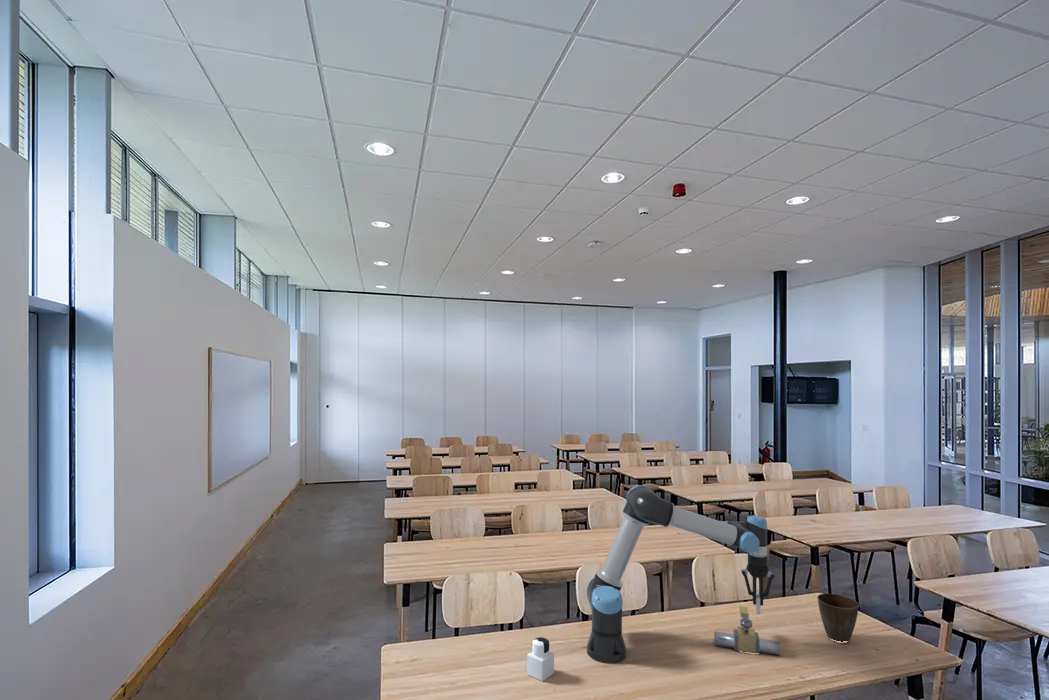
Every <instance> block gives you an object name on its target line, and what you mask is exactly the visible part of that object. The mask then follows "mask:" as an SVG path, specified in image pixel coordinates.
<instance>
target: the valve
mask: <svg viewBox="0 0 1049 700" xmlns="http://www.w3.org/2000/svg"><path fill="white" fill-rule="evenodd" d="M713 639H714V640H713V642H714V646H718V647H723V648H729V647H730V648H731V649H735V650H738V651H742V652H749V653H750V652H751V653H759V654H760V653H761V652H763V653H762V654H767V653H770V654H769V655H773V654H777V655H776V656H781V643H780V641H779V640H774V639H768V638H761V637H759V632H756V631H755V628H752V627H751V628H746V627H743V626H741V625H740V626H739V625H737V626H736V629H735V628H733V633H727V632H723V631H716V630H715V631H714V632H713ZM735 650H734V651H735Z"/></svg>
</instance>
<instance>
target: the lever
mask: <svg viewBox="0 0 1049 700" xmlns="http://www.w3.org/2000/svg"><path fill="white" fill-rule="evenodd" d="M739 615H740V617H741V618H740V623H739V624H740V627H746V628H752V627H753V621H752V620H751V619H749V616H750V615H749V608H748V607H747V606H739Z"/></svg>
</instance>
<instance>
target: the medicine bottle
mask: <svg viewBox="0 0 1049 700" xmlns="http://www.w3.org/2000/svg"><path fill="white" fill-rule="evenodd" d="M531 647H532V651H531V652H529V653H528V654H526V675H527V676H529V677H532V678H534V679H536V680H538V681H541V682H544V681H545V680H546V679H548V678H550V677H551V676H553V674H554V673H555V653H553V652H551V651H550V641H549V639H548V638H545V637H536V638H534V639H533V640H532V646H531Z"/></svg>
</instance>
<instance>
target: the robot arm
mask: <svg viewBox="0 0 1049 700" xmlns="http://www.w3.org/2000/svg"><path fill="white" fill-rule="evenodd" d="M625 500H626V501H625V502H626V503H625V505H624V507H623V510H622V514H623V520H622V521H621V523H620V526H619V529H618V530H617V534H616V535H615V538H614V541H613V543H612V545H611V547H610V549H609V552H608V554H607V556H606V558H605V561H604V564H603V566H602V568H601V569H600V570H597V571H596V572H595V574H594V577H593V578H591V579H590V581H589V582H588V583H587V588H586V596H587V600H588V603H589V606H590V609H591V632H590V635H589V637H588V638H589V639H588V641H587V644H586V653H587V656H589V657H590V658H591V659H593V660H595V661H597V662H600V663H607V664H611V663H612V664H613V663H619V662H622V661H624V660H625V659H626V657H627V646H626V643H625V640H624V637H623V605H624V603H623V596H622V594H621V590H622V588H623V583H622V577H623V575H624V573H625V570H626V568H627V567H628V564H629V561H630V559H631V557H632V554H633V552H634V549H635V547H636V545H637V543H638V542H639V541H638V540H639V538H640V536H641V534H642V531H643V528H644V527H646V526H649V524H650V523H651V524H652V523H653V524H655V525H659V526H662V527H666V528H667V527H669V526H671V527H675V528H677V529H680V530H683V531H687V532H689V533H692V534H695V535H698V536H702V537H703V538H708V539H710V540H714V541H717V542H721V543H723V544H726V545H729V546H732V547H735V548H738V549H741V550H742V551H743V552H745V553H748V554H747V565H746V567H745V568H744V569H741V570H740V571H741V574H742V576H743V577H744V582H745V585H746V589H747V593H748V595H749V596H752V604H753V605H754V606H755V613H756V615H761V607H763V606H764V598H767V597H768V596H769V594H770V590H771V586H772V581H773V579H775V574H774V572H771V571H770V569H769V567H768V565H769V564H768V523H767V522H768V521H767V519H766V517H763V516H760V515H749V516H747V519H746V521H737V520H733V521H731V520H724V521H723V520H721V521H720V520H717V519H714V518H711V517H708V516H705V515H702V514H699V513H696V512H693V511H690V510H686V509H684V508H681V507H678V506H675V504H674V503H673V502H671V501H668V500H665V499H664V498H662V497H660V496H659V495H658V494H656V492H654V490H653V489H652V488H650V487H648V486H646V485H642V484H641V485H640V484H638V485H635V486H633V487H631V488H630V489H629V490H628V491H627V494H626V498H625ZM748 574H749V575H750V576H751V577H752V590H751V587H750V586H751V585H750V583H749V578H748ZM766 576H767V580H766V585H765V587H764V578H765V577H766ZM757 579H758V580H759V582H758V585H759V587H758V588H759V589H758V591H759V595H758V594H757Z"/></svg>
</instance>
